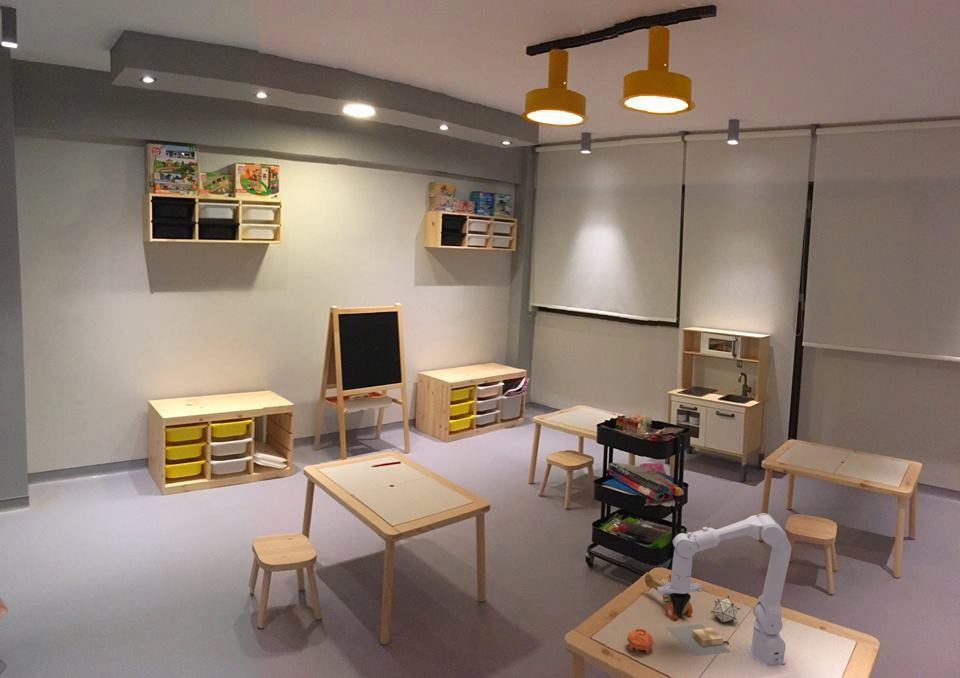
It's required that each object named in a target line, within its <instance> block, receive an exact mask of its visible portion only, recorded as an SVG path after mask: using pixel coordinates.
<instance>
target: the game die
mask: <svg viewBox="0 0 960 678" xmlns="http://www.w3.org/2000/svg"><path fill="white" fill-rule="evenodd" d="M729 598H730V595H728V596H727V598H722V599H719V598H717V600H714V603H715V604H714V607H713V610H711V611H710V613H711V614H712V613H713V614H714V615H715V616H716V618H718V619H719V620H720V621H721V623H722V625H724V623H728V622H730V621H731V622H732V621H733V622H734V620H735V621H737V613H738V611H740V610H741V608H740V607H737V606H736V605H735V604H734V603H735V602H734V603H733V602H732V600H731V599H729Z"/></svg>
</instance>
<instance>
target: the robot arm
mask: <svg viewBox="0 0 960 678" xmlns="http://www.w3.org/2000/svg"><path fill="white" fill-rule="evenodd" d="M744 536H748V537H750V538H753V539H755V540H760V538H761V540H762V542H764V543H765V544H767V545H769V546H770V547H771V552H770V557H769V561H768V562H769V563H768V566H767V572H766V576H765V579H764V580H765V581H764V585H763V590H762V594H761V595H760V596H758V598H757V601H756V603H755V604H754V606H753V609H752V613H753V615H754V617H755V621H754V623H753V628H752V629H753V630H752V638H751V646H748V647H744V650H746V651H747V652H748V653H749V654H750V655H751V656H752V657H753V658H755V659H756V660H757V661H758V662H759V663H760V664H761V665H762V666H764V667H765V666H766V667H767V666H773V665H786V663H787V662H786V661H785V660H784V659H785V652H786V642H785V640H784V639H783V638H782V637H781V635H780V632H781V631H782V630H783V627H784V624H783V620H782V615H783V612H782V607H781V600H782V597H783V596H782V595H783V591H784V586H785V582H786V577H787V573H788V567H789V562H790V558H791V553H792V545H791V544H790V541H789V539H788V536H787V533H786V532H785V530H784V529H783V528H782V527H781V525H780V524H779V523H778V522H777V520H775V518H773V517H772V516H771V514H768V513H764V512H763V513H759V514H757V515H756V514H754V515H751V516H749V517H748V518H746V519H743V520H740V521H738V522H734V523H732V524H729V525H726V526H724V527H723V526H722V527H720V528H718V529H715V528H713V527H707V526H703V527H702V529H700V530H696V531H693V532H691V531H689V532H687V533H684V532H682V533H678V534H677V535H675V537H674V538H673V539H672V544H673V547H674V550H673V557H672V566H671V574H672V575H671V582H669V583H667V584H665V585H664V586H661V587H658V589H657V590H656V593H657V594H658V595H659V596H660V597H662V596H663V594H669V595H670V598H671V601H672V604H673V610H674V614H675V615H676V616H678V617H681V616H682V615H683V614H682V611H683V609H684V607H685V605H686V604H687V602H688V601H689V600H691V598H692V597H691V594H689V593H691V592H693V593H694V592H698V593H702V592H703V591H702V590H703V585H702V584H700V583H699V582H698V583H695V582H693V583H692V582H691V579H692V569H693V568H692V567H693V557H694V556H695V554H696V553H698V552H702V551H705V550H708V549H712V548H715V547H718V546H719V544H720V543H721V541H726V540H730V539H734V538H740V537H744Z"/></svg>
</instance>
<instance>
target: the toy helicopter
mask: <svg viewBox="0 0 960 678" xmlns="http://www.w3.org/2000/svg"><path fill="white" fill-rule="evenodd" d="M671 575H672V573H670V574H669V575H668V576H666V577H664V578H665V579H667V583H671ZM644 583H645V585H646V587H647V588H648V589H654V590H655V591H657V589H658V587H661V586H664V585H666V583H663V582H662V581H660V580H658V578H657V577H656V575H655V574H653V573H647V574H646V575H645V576H644ZM661 597H662V600H663V605H662V608H664V610H665V611H664V613H665V615H666V617H668V618H669V619H671V620H672V621H673V620H676V619H677V620H678V618H679V616H676V615H675V614H674V610H673V604H672V601H671V598H670V595H669V594H663V596H661ZM690 600H691V599H690ZM690 600H689V601H688V602H687V604H686V605H685V607H684V609H683V611H682V614H681V615H684V616H685V617H690V616H692V614H693V606H692V604H691V603H690Z"/></svg>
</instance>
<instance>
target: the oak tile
mask: <svg viewBox="0 0 960 678" xmlns="http://www.w3.org/2000/svg"><path fill="white" fill-rule="evenodd" d="M705 628H706V629H697V630H692V636H693V637H694V638H695V639H696V640H697V641H698V642H699V643H700V644H701V645H702V646H710V645H719V644H723V637H722V635H720V634H719V633H718V632H717V631H716V630H714V629H713V628H712V627H708V628H707V627H705Z"/></svg>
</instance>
